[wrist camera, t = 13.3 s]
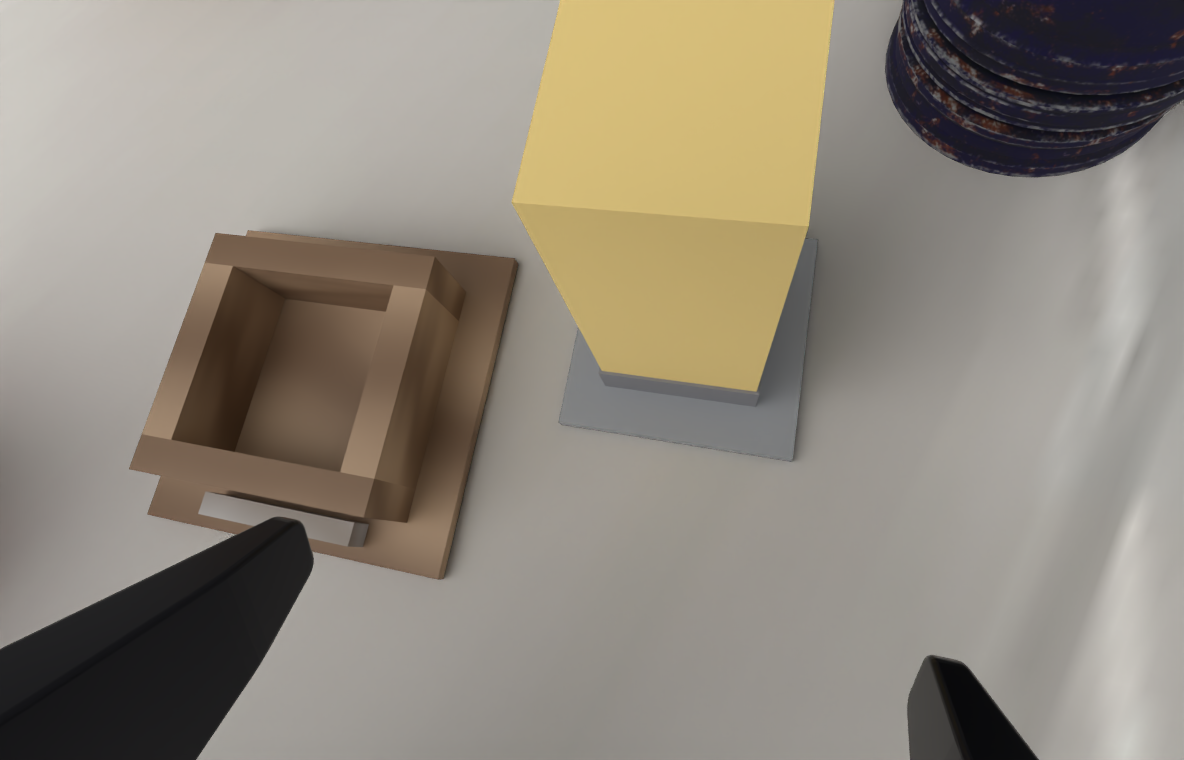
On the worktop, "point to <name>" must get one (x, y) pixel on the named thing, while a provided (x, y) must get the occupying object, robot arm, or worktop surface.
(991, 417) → the worktop surface
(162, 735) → the robot arm
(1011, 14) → the storage jar
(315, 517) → the socket
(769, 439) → the stand
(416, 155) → the worktop surface
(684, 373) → the plug
